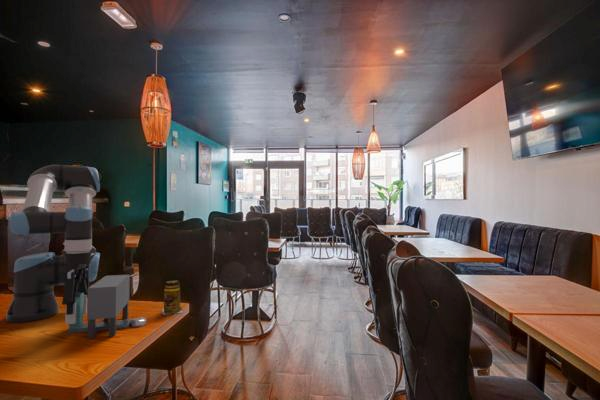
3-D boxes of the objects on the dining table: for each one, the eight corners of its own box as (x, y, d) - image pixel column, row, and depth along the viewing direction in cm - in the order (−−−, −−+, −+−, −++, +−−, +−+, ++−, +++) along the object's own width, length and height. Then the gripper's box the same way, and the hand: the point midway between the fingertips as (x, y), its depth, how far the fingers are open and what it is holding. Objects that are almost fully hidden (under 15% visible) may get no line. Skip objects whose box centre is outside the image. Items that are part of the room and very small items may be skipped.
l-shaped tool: (67, 334, 101) (68, 295, 101) (74, 328, 105) (75, 291, 106) (128, 328, 106) (129, 292, 106) (132, 322, 111) (132, 288, 111)
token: (132, 323, 111) (132, 318, 111) (147, 321, 112) (147, 316, 112) (128, 328, 106) (128, 323, 106) (144, 326, 107) (144, 321, 107)
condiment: (162, 315, 118) (163, 284, 118) (161, 308, 126) (162, 279, 126) (182, 312, 121) (183, 282, 121) (180, 306, 129) (181, 278, 129)
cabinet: (104, 318, 114) (105, 275, 114) (128, 316, 116) (129, 274, 117) (86, 339, 97) (87, 288, 97) (115, 336, 99) (116, 286, 99)
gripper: (77, 247, 113) (76, 309, 113) (49, 257, 93) (47, 332, 92) (101, 247, 115) (99, 307, 115) (78, 256, 95) (76, 329, 95)
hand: (76, 318), depth 104 cm, fingers open, 8 cm apart
